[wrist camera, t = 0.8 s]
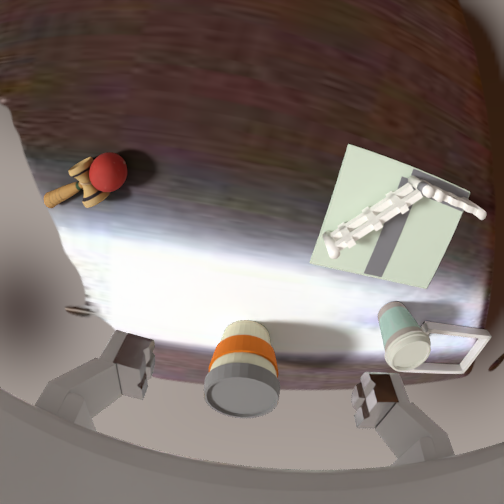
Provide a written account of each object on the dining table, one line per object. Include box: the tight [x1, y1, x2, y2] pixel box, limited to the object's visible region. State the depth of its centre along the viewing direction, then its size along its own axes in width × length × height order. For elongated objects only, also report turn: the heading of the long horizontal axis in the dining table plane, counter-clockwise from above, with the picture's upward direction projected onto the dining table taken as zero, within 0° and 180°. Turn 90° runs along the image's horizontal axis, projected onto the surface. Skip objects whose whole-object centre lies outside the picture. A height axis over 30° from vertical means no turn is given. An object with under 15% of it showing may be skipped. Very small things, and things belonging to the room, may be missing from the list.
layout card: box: [310, 144, 470, 289], centre depth 47 cm, size 20×24×1 cm
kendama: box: [44, 153, 127, 208], centre depth 44 cm, size 8×6×18 cm
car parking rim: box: [404, 321, 491, 374], centre depth 59 cm, size 13×22×2 cm, turn 77°
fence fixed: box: [420, 179, 486, 220], centre depth 40 cm, size 11×2×6 cm, turn 77°
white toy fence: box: [322, 175, 434, 259], centre depth 42 cm, size 18×2×6 cm, turn 127°
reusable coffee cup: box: [204, 320, 280, 418], centre depth 53 cm, size 13×13×15 cm
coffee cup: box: [378, 301, 431, 372], centre depth 50 cm, size 8×8×12 cm
